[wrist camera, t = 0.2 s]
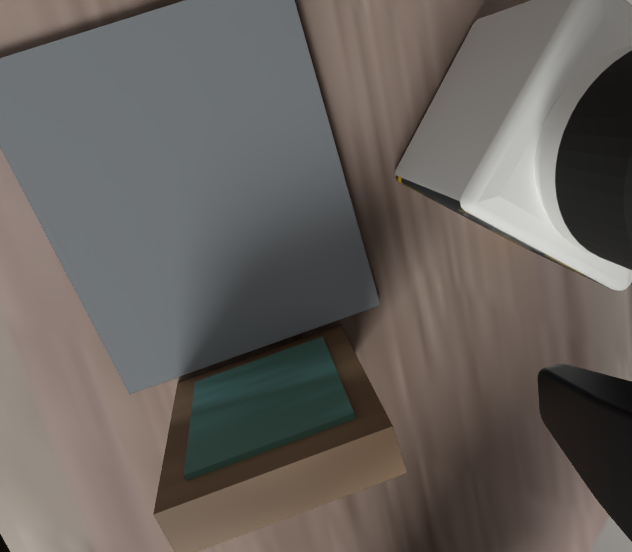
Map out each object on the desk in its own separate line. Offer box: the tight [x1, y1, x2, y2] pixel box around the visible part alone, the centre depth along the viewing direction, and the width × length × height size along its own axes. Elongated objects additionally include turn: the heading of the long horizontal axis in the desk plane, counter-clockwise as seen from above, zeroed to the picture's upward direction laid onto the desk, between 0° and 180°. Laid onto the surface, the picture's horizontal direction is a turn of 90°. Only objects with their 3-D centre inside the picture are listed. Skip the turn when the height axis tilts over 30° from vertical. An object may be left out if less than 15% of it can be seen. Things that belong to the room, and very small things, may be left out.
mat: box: [0, 0, 380, 394], centre depth 20 cm, size 14×12×1 cm
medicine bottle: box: [395, 0, 632, 291], centre depth 16 cm, size 7×7×12 cm
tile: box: [153, 325, 407, 552], centre depth 20 cm, size 2×8×8 cm, turn 107°
